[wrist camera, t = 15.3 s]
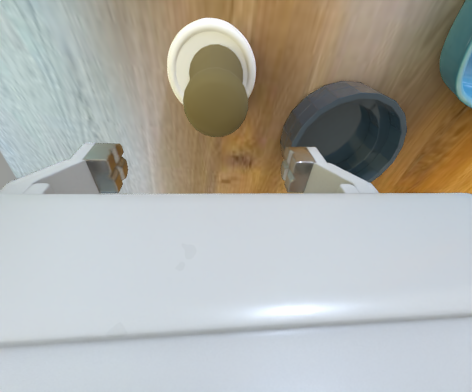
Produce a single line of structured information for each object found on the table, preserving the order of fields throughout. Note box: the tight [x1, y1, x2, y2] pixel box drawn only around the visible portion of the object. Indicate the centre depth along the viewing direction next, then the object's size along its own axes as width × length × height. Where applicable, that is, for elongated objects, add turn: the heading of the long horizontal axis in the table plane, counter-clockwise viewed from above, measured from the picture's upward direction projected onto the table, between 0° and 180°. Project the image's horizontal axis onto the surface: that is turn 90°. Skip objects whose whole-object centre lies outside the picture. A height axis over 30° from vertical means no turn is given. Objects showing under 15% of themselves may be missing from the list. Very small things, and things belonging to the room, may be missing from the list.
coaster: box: [167, 18, 256, 104], centre depth 27 cm, size 10×10×4 cm
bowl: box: [280, 81, 407, 183], centre depth 33 cm, size 15×15×6 cm
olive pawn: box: [183, 44, 248, 137], centre depth 21 cm, size 6×6×11 cm
